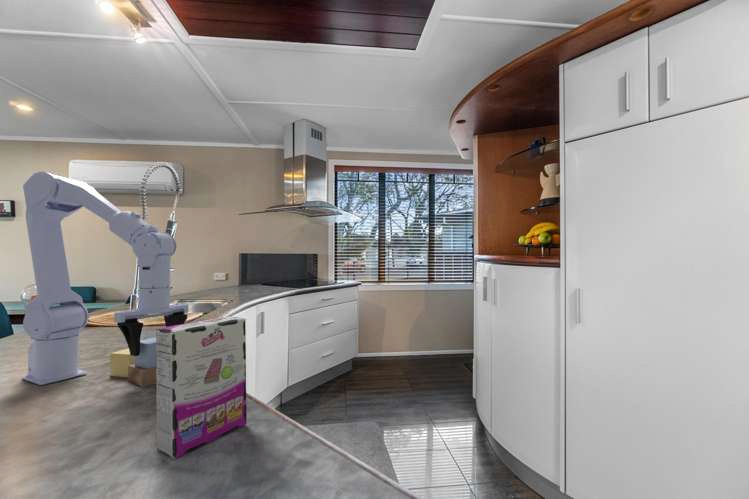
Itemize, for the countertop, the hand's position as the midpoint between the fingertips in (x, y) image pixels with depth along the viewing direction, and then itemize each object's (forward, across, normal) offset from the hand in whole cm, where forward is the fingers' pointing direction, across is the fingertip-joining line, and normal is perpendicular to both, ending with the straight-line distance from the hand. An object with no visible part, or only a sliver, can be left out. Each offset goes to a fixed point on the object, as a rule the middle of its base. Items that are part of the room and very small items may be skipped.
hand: (153, 350), depth 74 cm
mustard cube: (+6, 0, +9) cm, 11 cm away
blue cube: (+3, 0, 0) cm, 3 cm away
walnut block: (+6, 0, 0) cm, 6 cm away
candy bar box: (+6, -11, -32) cm, 34 cm away
